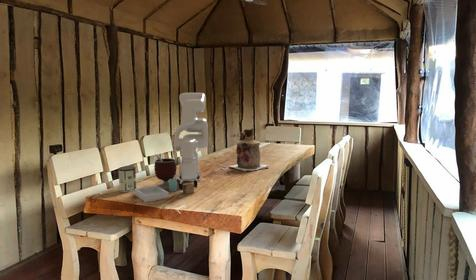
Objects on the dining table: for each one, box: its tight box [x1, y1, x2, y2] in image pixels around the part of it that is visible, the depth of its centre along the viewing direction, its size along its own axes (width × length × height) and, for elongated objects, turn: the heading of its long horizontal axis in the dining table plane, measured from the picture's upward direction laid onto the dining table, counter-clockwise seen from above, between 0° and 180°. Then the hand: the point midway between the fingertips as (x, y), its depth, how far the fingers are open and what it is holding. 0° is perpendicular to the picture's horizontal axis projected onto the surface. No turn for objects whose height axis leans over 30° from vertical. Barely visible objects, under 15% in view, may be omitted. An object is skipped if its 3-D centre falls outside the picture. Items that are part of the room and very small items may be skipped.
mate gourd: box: [154, 154, 177, 190], centre depth 238 cm, size 16×14×20 cm
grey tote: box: [134, 185, 170, 203], centre depth 216 cm, size 18×14×4 cm
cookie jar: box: [228, 128, 270, 172], centre depth 293 cm, size 25×25×32 cm
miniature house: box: [117, 165, 137, 193], centre depth 229 cm, size 10×10×14 cm
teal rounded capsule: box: [168, 177, 178, 192], centre depth 228 cm, size 5×5×7 cm
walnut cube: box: [182, 182, 195, 195], centre depth 224 cm, size 5×5×5 cm
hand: (188, 188), depth 224 cm, fingers open, 9 cm apart
